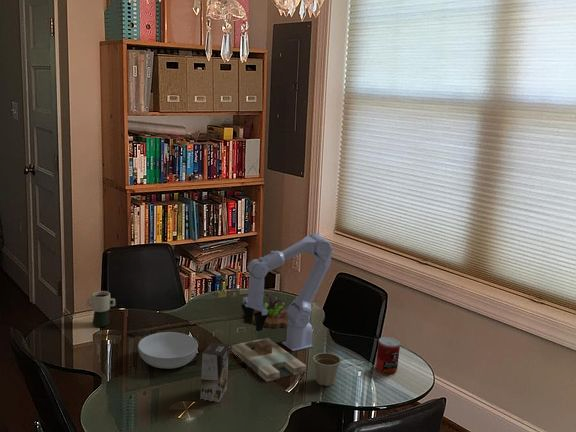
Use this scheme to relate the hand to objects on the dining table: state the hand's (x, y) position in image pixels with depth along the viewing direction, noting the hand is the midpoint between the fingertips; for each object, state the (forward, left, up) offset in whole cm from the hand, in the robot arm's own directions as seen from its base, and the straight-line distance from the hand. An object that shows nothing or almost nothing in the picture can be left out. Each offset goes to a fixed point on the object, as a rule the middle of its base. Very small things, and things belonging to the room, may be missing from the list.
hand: (253, 326), depth 243 cm
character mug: (+43, -45, -10) cm, 63 cm away
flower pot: (-10, +33, -10) cm, 35 cm away
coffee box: (+28, +24, -10) cm, 38 cm away
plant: (-22, -24, -10) cm, 34 cm away
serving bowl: (+32, -4, -10) cm, 34 cm away
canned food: (-36, +35, -10) cm, 51 cm away
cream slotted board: (0, +11, -10) cm, 14 cm away
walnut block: (0, +8, -7) cm, 10 cm away
